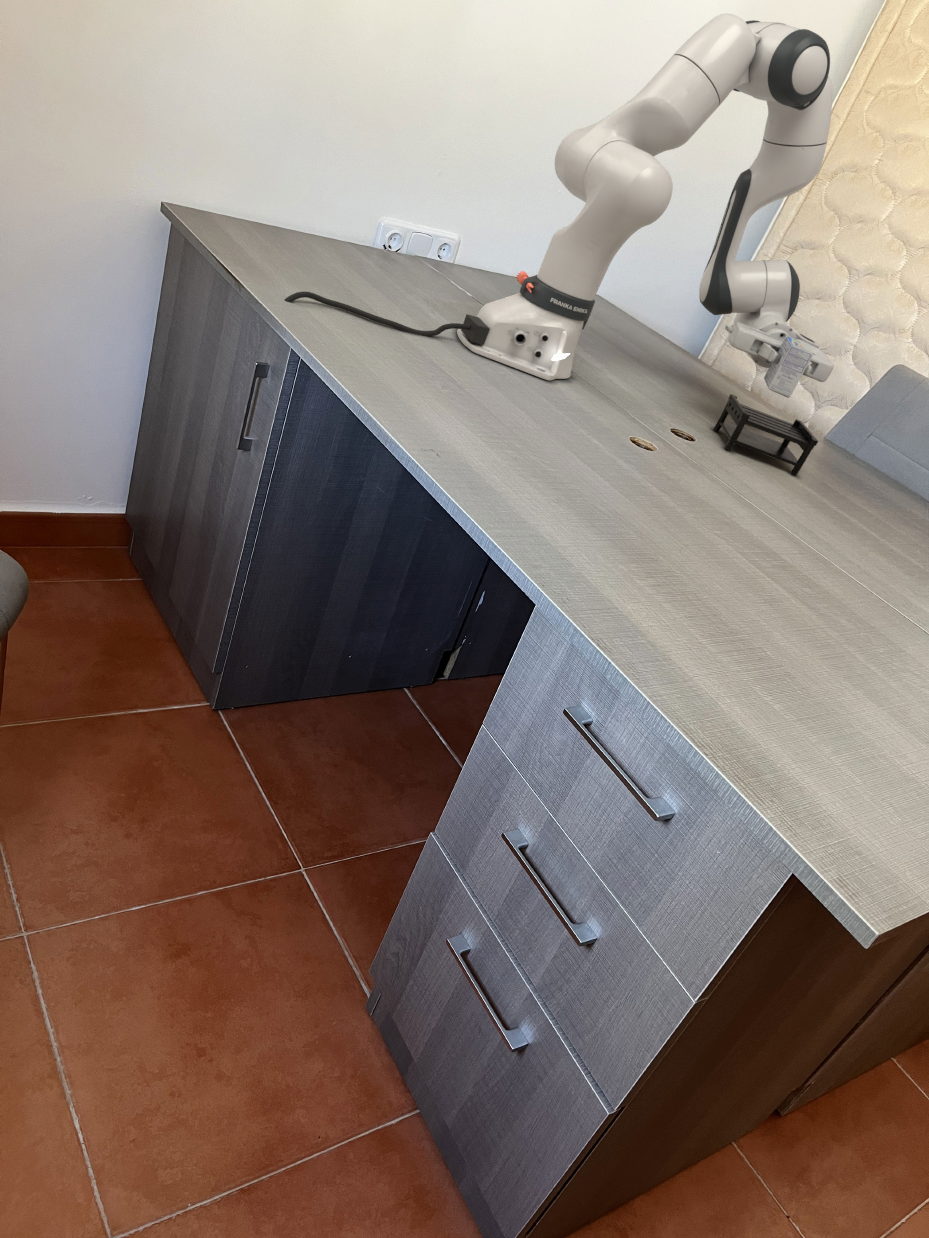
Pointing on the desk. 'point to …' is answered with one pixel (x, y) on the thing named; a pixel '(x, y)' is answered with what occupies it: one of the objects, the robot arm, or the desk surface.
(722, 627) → the desk surface
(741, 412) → the rack
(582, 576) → the desk surface
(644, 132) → the robot arm
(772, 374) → the medicine box
